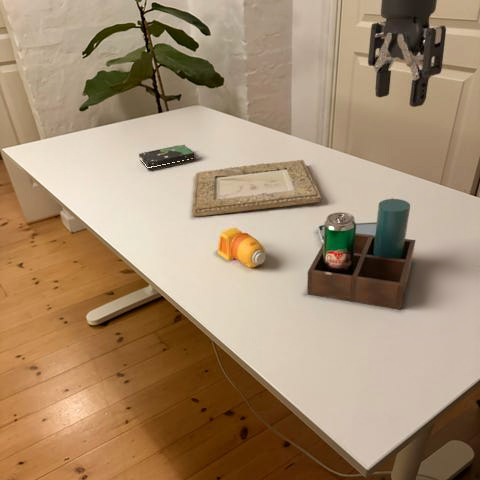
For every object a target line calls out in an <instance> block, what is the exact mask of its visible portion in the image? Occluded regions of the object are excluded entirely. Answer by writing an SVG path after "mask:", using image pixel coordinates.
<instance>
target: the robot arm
mask: <svg viewBox="0 0 480 480" xmlns="http://www.w3.org/2000/svg"><path fill="white" fill-rule="evenodd" d="M437 3H438V0H381V3H380V4H381V6H380V16H381V18H383V19H386V20H385V21H379V22H374V23H372V24H371V26H370V35H369V36H370V37H369V45H368V57H367V64H368V66H369V67H373V68H374V72H376V73H375V75H376V76H375V97H376V98H383V97H387V96H389V94H390V88H391V79H392V78H391V75H392V70H390V69H391V68H392V66H393V64H394V62H395V61H396V60H397V59H399V60H402V61H404V62H405V65H406V66H407V67H408V68H410V69H409V70H410V72H411V75H412V78H413V79H412V80H411V88H410V95H409V106H410V107H412V108H416V107H420V106H423V105H424V103H425V102H426V100H427V93H428V87H429V80H430V78H431V77H433V76H436V75H437V76H438V75H440V74H441V73H442V70H443V61H444V51H445V44H446V35H447V27H446V26H445V25H439V26H433V27H430V18H431V16H432V15H433V14H434V13H435V12H436V9H437ZM377 49H378V53H377ZM376 53H377V55H376ZM432 61H433V65H432ZM420 66H421V68H420Z"/></svg>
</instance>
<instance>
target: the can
mask: <svg viewBox="0 0 480 480" xmlns="http://www.w3.org/2000/svg"><path fill="white" fill-rule="evenodd" d="M410 210H411V204H410V203H409V202H408V201H406V200H404V199H400V198H388V199H383V200H381V201H380V202H378V207H377V216H376V222H377V224H376V233H375V242H374V250H373V255H374V256H381V257H389V258H397V259H402V256H403V250H404V243H405V239H406V236H407V229H408V225H409V217H410Z"/></svg>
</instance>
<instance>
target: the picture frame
mask: <svg viewBox="0 0 480 480" xmlns="http://www.w3.org/2000/svg"><path fill="white" fill-rule="evenodd" d="M194 180H195V181H194V189H193V201H192V211H191V213H192V217H193V218H194V217H195V218H196V217H203V216H205V217H206V216H215V215H222V214H229V213H230V214H231V213H238V212H248V211H255V210H263V209H272V208H280V207H281V208H282V207H288V206H289V207H290V206H297V205H305V204H315V203H318V202H321V201H322V197H321V193H320V191H319V189H318V187H317V185H316V183H315V181H314V179H313V177H312V174H311V173H310V171H309V169H308V167H307V165H306V163H305V161H304V159H297V160H289V161H280V162H271V163H269V162H268V163H257V164H250V165H243V166H234V167H231V166H230V167H227V168H226V167H225V168H220V169H212V170H205V171H199V172H195V179H194Z"/></svg>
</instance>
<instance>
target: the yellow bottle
mask: <svg viewBox="0 0 480 480" xmlns="http://www.w3.org/2000/svg"><path fill="white" fill-rule="evenodd" d="M218 239H219V240H218V246H217V254H218V255H219V256H221V257H222V258H224V259H225V260H227V261H233V260H236V261H238V262H240V263H241V264H243V266H246V267H248V268H255V267H257V266H260V265H261V264H263V263H264V262H265V260H266V251H265V248H264V246H263V245H262V244H261V242H260V241H259V240H258V239H256V237H253V236H252V235H251V234H249V233H247V232H242V230H240V229H238V228H237V227H231V228H229V229H226V230H223V231H222V232H220V235H219V238H218Z"/></svg>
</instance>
